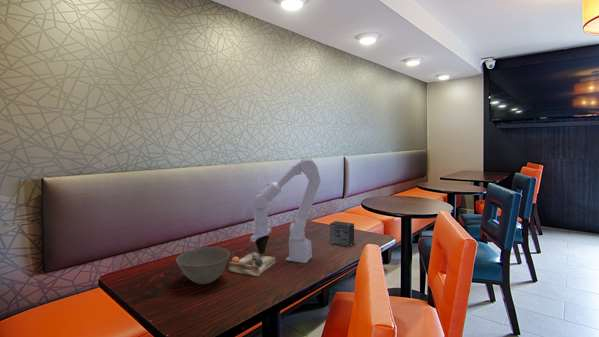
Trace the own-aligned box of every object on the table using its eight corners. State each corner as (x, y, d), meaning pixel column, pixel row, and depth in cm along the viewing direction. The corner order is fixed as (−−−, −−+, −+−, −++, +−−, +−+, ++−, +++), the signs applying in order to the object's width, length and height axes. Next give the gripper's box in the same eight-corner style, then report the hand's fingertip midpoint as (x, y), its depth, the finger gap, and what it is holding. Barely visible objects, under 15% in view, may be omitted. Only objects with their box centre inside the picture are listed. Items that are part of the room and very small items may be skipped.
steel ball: (260, 258, 133) (260, 251, 132) (256, 261, 130) (256, 253, 130) (254, 257, 134) (253, 250, 134) (249, 260, 131) (249, 252, 131)
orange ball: (240, 263, 128) (240, 256, 128) (236, 266, 125) (236, 258, 125) (234, 262, 129) (234, 255, 129) (230, 264, 126) (230, 257, 126)
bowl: (176, 276, 121) (175, 251, 120) (225, 267, 129) (225, 244, 128) (178, 298, 104) (177, 269, 103) (235, 287, 111) (234, 259, 111)
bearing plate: (275, 262, 134) (275, 254, 134) (257, 276, 120) (257, 267, 120) (249, 258, 139) (249, 250, 139) (229, 271, 125) (228, 262, 125)
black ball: (264, 265, 126) (264, 257, 125) (260, 267, 123) (260, 260, 123) (257, 264, 127) (257, 256, 127) (253, 266, 124) (253, 259, 124)
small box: (354, 243, 156) (354, 222, 155) (349, 247, 151) (349, 226, 150) (335, 240, 162) (335, 220, 161) (329, 244, 156) (329, 223, 156)
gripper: (261, 217, 144) (262, 246, 145) (243, 225, 131) (244, 257, 132) (275, 219, 141) (275, 248, 142) (258, 227, 128) (259, 259, 129)
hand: (261, 253), depth 137 cm, fingers closed
